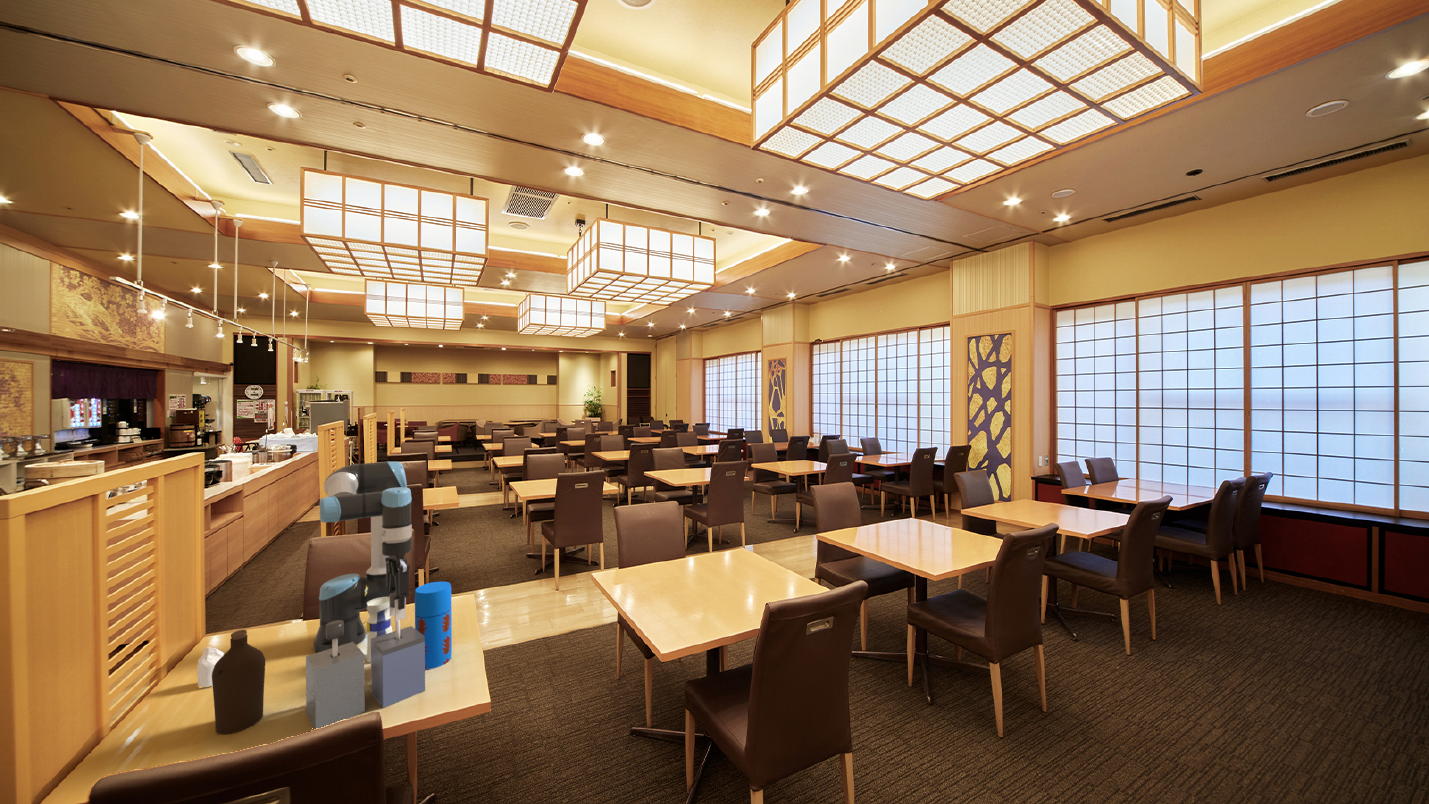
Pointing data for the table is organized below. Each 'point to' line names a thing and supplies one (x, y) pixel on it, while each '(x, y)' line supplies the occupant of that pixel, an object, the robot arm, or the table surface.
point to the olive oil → (238, 686)
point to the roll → (207, 666)
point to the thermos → (434, 622)
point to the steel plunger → (334, 634)
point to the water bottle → (377, 620)
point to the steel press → (334, 685)
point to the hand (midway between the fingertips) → (397, 616)
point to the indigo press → (397, 666)
